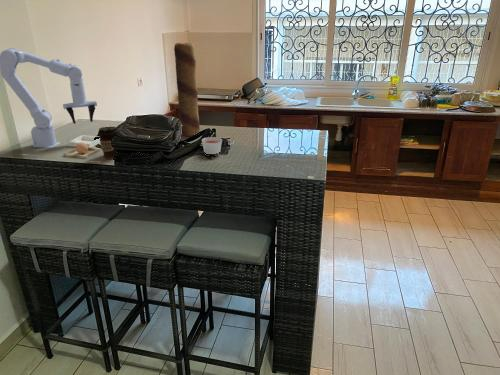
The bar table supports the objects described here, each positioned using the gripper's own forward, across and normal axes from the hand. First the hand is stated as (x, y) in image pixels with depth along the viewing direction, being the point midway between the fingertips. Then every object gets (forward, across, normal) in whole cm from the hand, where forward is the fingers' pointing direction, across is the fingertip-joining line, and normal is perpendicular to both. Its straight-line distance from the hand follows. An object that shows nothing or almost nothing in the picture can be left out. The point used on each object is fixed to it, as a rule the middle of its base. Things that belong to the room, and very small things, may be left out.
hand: (83, 122), depth 185 cm
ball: (+9, -5, -18) cm, 20 cm away
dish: (+10, -1, -4) cm, 11 cm away
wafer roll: (+10, +49, -11) cm, 52 cm away
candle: (+10, +45, -45) cm, 65 cm away
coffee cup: (+10, +5, -28) cm, 30 cm away
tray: (+10, -5, -18) cm, 21 cm away
